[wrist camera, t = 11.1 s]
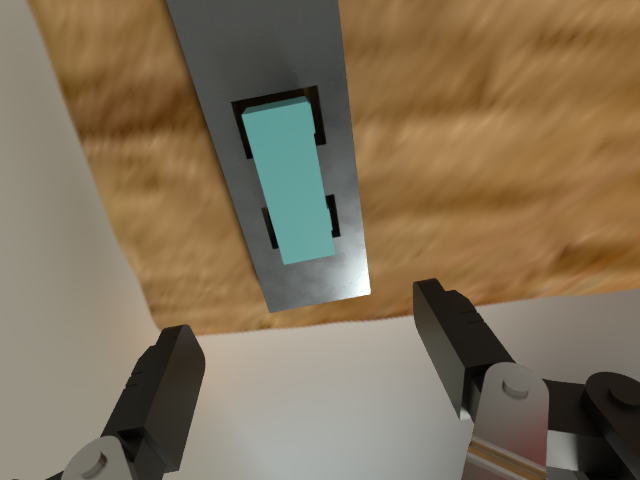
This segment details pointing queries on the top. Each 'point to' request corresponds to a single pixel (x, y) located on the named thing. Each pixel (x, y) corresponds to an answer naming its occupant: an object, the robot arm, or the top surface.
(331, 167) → the grey board with holes
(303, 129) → the teal rectangular block
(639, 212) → the top surface
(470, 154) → the top surface
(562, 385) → the robot arm
